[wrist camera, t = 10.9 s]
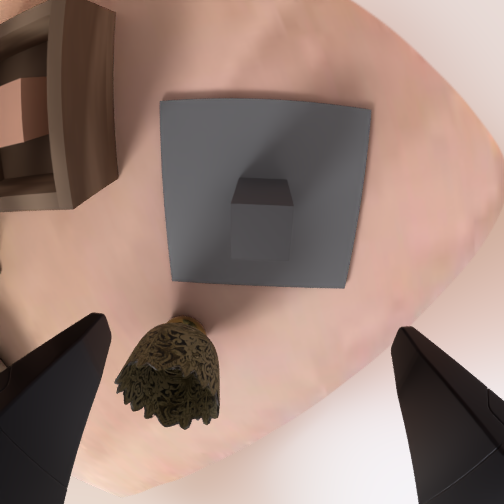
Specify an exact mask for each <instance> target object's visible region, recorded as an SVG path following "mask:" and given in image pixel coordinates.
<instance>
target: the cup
mask: <svg viewBox="0 0 504 504" xmlns="http://www.w3.org/2000/svg"><path fill="white" fill-rule="evenodd" d="M115 384H119V385H118V387H117V392H116V393H117V394H118V393H119V392H123V391H124V392H123V395H124V404H125V405H127V404H128V403H130V402H131V403H130V405H131V409H132V411H138V410H140V409H142V408H143V407H144V409H145V413H144V417H145V419H149V418H152V417H153V416H152V415H153V414H154V416H155V415H156V416H157V418H158V421H159V422H160V423H161V424H162V425H163V426H164V427H171V426H174V425H176V424H179V425H180V427H181V428H182V429H184V430H186V429H188V428H189V427H190V424H191V423H190V422H192V419H197V420H199V419H200V418H202V419H203V422H204V423H203V424H205V425H208V424H209V423H210V421H211V418H213V419H216V418H218V415H219V406H220V379H219V361H218V356H217V352H216V350H215V347H214V345H213V344H212V342H211V341H210V339H209V338H208V337H207V336H206V332H205V329H204V327H203V326H202V324H201V323H200V322H199V321H197V320H196V319H194V318H192V317H189V316H176V317H174V318H172V319H170V320H169V321H168V322H167V323H165V324H161V325H159V326H156V327H154V328H153V329H151V330H150V331H149V332H147V333H146V334H145V335H144V337H143V338H142V339H141V340H140V342H139V343H138V344H137V346H136V347H135V349H134V350H133V352H132V354H131V355H130V357H129V359H128V360H127V362H126V364H125V365H124V367H123V369H122V370H121V372H120V373H119V375H118V377H117V378H116V380H115Z"/></svg>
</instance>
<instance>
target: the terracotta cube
mask: <svg viewBox="0 0 504 504" xmlns="http://www.w3.org/2000/svg"><path fill="white" fill-rule="evenodd" d="M47 134H49V127H48V111H47V77H28V78H19V79H17V80H14V81H12V82H9V83H7V84H5V85H2V86H0V148H1V147H5V146H9V145H13V144H17V143H22V142H25V141H28V140H31V139H35V138H38V137H41V136H44V135H47Z"/></svg>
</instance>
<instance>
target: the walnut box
mask: <svg viewBox="0 0 504 504" xmlns="http://www.w3.org/2000/svg"><path fill="white" fill-rule="evenodd" d="M115 14H116V13H115V12H113V11H111V10H109V9H106V8H104V7H102V6H99V5H97V4H95V3H92V2H90V1H87V0H48V1H46V2H44V3H41V4H39V5H37V6H35V7H33V8H31V9H29V10H26V11H24V12H22V13H20V14H19V15H17V16H15V17H13V18H11V19H9V20H7V21H5V22H4V23H2V24H0V86H2V85H5V84H7V83H9V82H12V81H14V80H17V79H19V78H28V77H47V111H48V127H49V134H47V135H44V136H41V137H38V138H35V139H31V140H28V141H25V142H22V143H17V144H13V145H9V146H5V147H1V148H0V212H13V211H36V210H68V209H75V208H76V207H77V206H79V205H80V204H81V203H83V202H84V201H86V200H87V199H88V198H90V197H91V196H93V195H94V194H96V193H97V192H99V191H100V190H102V189H103V188H104V187H106V186H107V185H109V184H110V183H112V182H114V181H115V180H117V179H118V170H117V159H116V146H115V130H114V107H113V50H114V28H115Z"/></svg>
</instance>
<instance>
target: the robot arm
mask: <svg viewBox="0 0 504 504" xmlns="http://www.w3.org/2000/svg"><path fill="white" fill-rule="evenodd" d="M110 343H111V331H110V328H109V325H108V322H107V319H106V316H105V315H104V314H102V313H91V314H89V315H87V316H86V317H84V318H83V319H81V320H80V321H78V322H76V323H75V324H73V325H72V326H70V327H69V328H67V329H65V330H64V331H62V332H61V333H59V334H58V335H56V336H55V337H53V338H52V339H50V340H48V341H47V342H45V343H44V344H42V345H41V346H39V347H38V348H36V349H35V350H33V351H32V352H30V353H29V354H27V355H26V356H24V357H23V358H21V359H20V360H18V361H17V362H15V363H14V364H12V366H9V367H8V368H6V369H5V370H3V371H2V372H0V504H64V500H65V496H66V492H67V487H68V483H69V480H70V476H71V472H72V468H73V465H74V461H75V458H76V454H77V451H78V447H79V444H80V441H81V438H82V434H83V431H84V428H85V425H86V422H87V419H88V416H89V413H90V410H91V407H92V404H93V401H94V398H95V395H96V392H97V390H98V387H99V384H100V381H101V377H102V374H103V370H104V366H105V362H106V358H107V354H108V350H109V347H110ZM391 356H392V362H393V368H394V374H395V381H396V389H397V395H398V399H399V403H400V408H401V412H402V416H403V420H404V425H405V429H406V434H407V439H408V444H409V449H410V453H411V459H412V464H413V470H414V476H415V482H416V488H417V495H418V502H419V504H504V401H503V400H502V399H501V398H500V397H498V396H497V395H496V394H495V393H494V392H493V391H491V390H490V389H487V387H486V386H485V385H484V384H483V383H482V382H480V381H479V380H478V379H477V378H476V377H474V376H473V375H472V374H471V373H470V372H468V371H467V370H466V369H465V368H464V367H462V366H461V365H460V364H459V363H457V362H456V361H455V360H454V359H453V358H451V357H450V356H449V355H448V354H446V353H445V352H444V351H443V350H441V349H440V348H439V347H438V346H436V345H435V344H434V343H433V342H431V341H430V340H429V339H428V338H426V337H425V336H424V335H423V334H421V333H420V332H419V331H417V330H416V329H415V328H414V327H412V326H406V327H400V328H399V330H398V332H397V334H396V337H395V339H394V341H393V344H392V347H391Z"/></svg>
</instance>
